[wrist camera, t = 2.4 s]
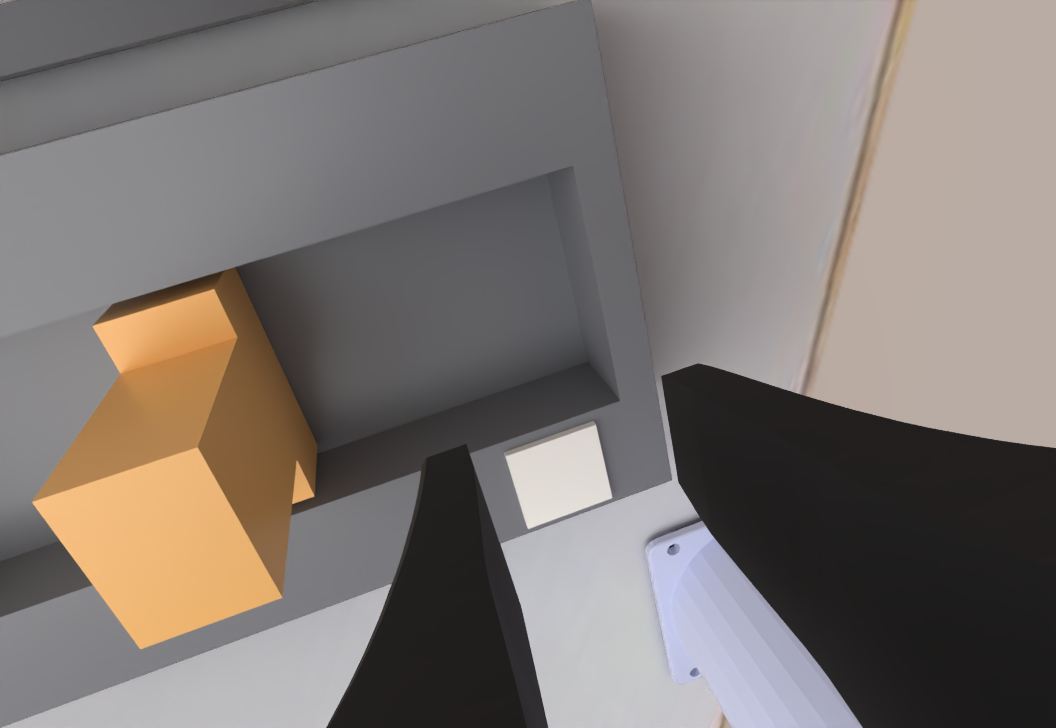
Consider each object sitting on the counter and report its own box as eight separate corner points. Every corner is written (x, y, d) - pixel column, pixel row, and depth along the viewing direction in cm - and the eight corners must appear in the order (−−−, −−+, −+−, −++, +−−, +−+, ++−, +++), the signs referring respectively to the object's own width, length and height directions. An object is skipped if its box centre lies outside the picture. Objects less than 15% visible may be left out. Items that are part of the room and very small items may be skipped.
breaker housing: (526, -114, 16) (593, -175, 12) (638, 462, 24) (702, 547, 20) (-469, 128, 13) (-833, 158, 9) (25, 685, 21) (-51, 836, 17)
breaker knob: (231, 257, 16) (161, 385, 10) (317, 445, 18) (307, 640, 12) (126, 289, 15) (-14, 441, 9) (228, 475, 18) (171, 691, 12)
